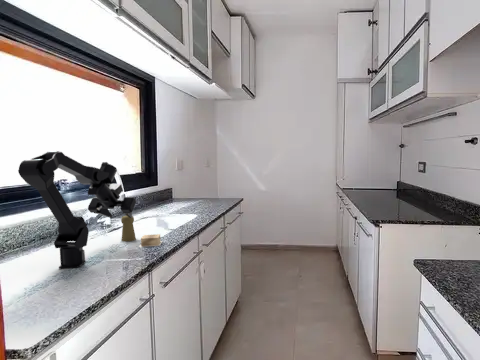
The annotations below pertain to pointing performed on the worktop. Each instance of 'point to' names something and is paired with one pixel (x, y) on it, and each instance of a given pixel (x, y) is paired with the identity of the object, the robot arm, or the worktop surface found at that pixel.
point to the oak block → (150, 240)
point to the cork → (128, 229)
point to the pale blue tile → (154, 245)
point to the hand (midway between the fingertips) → (121, 216)
